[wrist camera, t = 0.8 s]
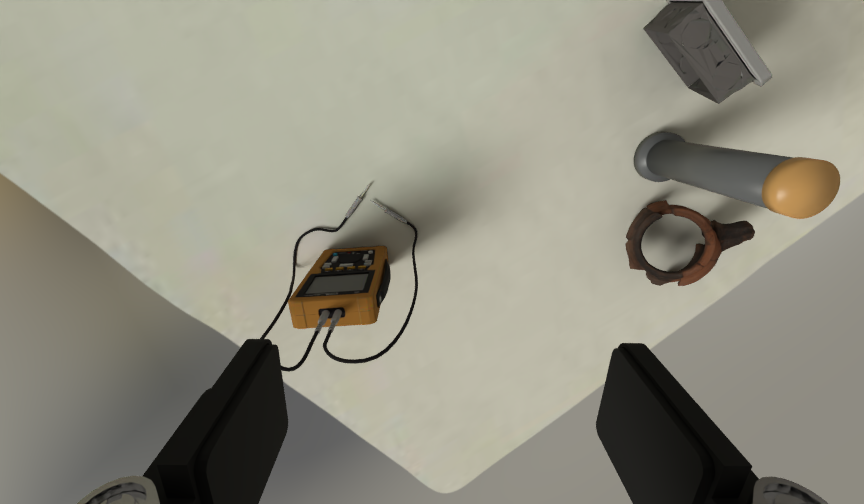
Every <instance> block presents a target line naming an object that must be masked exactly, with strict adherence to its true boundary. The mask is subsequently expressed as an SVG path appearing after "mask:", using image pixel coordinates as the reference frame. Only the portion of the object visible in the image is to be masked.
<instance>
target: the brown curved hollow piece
mask: <svg viewBox="0 0 864 504" xmlns="http://www.w3.org/2000/svg"><path fill="white" fill-rule="evenodd" d="M664 214H674V215H675V216H681V217H685V218H688V219H690V220H692V221H693V222H695V223H696V224H697V225H698V226H699V227H700V228H701V230H702V235H703V237H704V238H705V245H703V244H696V249H695V253H694V256H693V258H692V260H691V261H690V262H689V264H688V265H687V266H686V267H684V268H683V269H681V270H679V271H677V272H667V271H662V270H659V269H657V268H655V267H653V266H652V265H650V264H649V263H648V262H647V261H646V259H645V257H644V256H643V253H642V249H641V242H642V237H643V235H644V233H645V231H646V229H647V228H648V227H649V226H650V225H651V224H652V223H653V222H655V221H656V220H658V219H660V218H662V215H664ZM754 234H755V231H754V229H753V226H752V225H751V224H750V223H749V222H747V221H739V222H735V223H730V224H721V223H719V222H717V221H715V220H713V221H711V222H710V220H708V219H707V218H706V217H704V216H703V215H701V214H700V213H698V212H696V211H694V210H692V209H689V208H687V207H684V206H679V205H669V204H668V203H667V201H666V200H665V201H658V202H655V203H651V204H649V205H648V206H647V208H644V209H642V210H641V211H640V213H639V214H638V215H637V216H636V218H635V219H634V221H633V222H632V224H631V226H630V227H629V230H628V232H627V235H626V238H627V239H628V241H627V242H626V250H627V254H628V257H629V266H630V269H637V270H645V271H646V276H647V278H648V279H649V280H651V283H652V284H655V285H659V286H661V285H663V284H665V283H669V282H676V281H679V282H678V286H685V285H688V284H691V283H694V282H696V281H698V280H699V279H701V278H702V277H704V276H705V275H706V274H707V273H708V272H710V271H711V269H712V268H713V267H714V266H715V264H716V262H717V260H718V258H719V256H720V254H721V252H722V251H724V250H726V249H728V248H730V247H733V246H736V245H739V244H741V243H742V242H744V241H747V240H751V239H752V238H753V236H754Z"/></svg>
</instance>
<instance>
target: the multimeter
mask: <svg viewBox="0 0 864 504" xmlns="http://www.w3.org/2000/svg"><path fill="white" fill-rule="evenodd" d="M369 186H370V184H369V185H368V186H367V187H366V188H365V190H364V191H363V193H362V194H361V196H358V197H357V199H356V201H355V202H354V203H353V205H352V206H351V208H350V209H349V211H348V212H347V214H346V217H345V219H344V220H343V222H342V223H341V225H340V226H339V227H338V228H337V229H336V230H328V229H323V228H316V229H312V230H309V231H308V232H306V233H304V234H303V235H301V236H300V237H299V239H298V240H297V242H296V245H295V249H294V256H293V276H292V282H291V285H290V290H289V293H288V295H287V298H286V300H285V302H284V303H283V305H282V307H281V309H280V311H279V312H278V314H277V316H276V317H275V319H274V320H273V322H272V323H271V325H270V326H269V327H268V329H267V330H266V331H265V333H264V334H263V335H262V337H261V338H260V339H264V338H265V337H266V335H267V334H268V333H269V331H270V330H271V329H272V327H273V326H274V324H275V323H276V321H277V320H278V318H279V316H280V315H281V313H282V312H283V310H284V308H285V306H286V304H287V302H288V304H289V309H290V313H291V318H292V323H293V327H294V328H297V329H307V328H316V329H315V333H314V335H313V337H312V339H311V341H310V343H309V345H308V348H307V350H306V352H305V354H304V356H303V358H302V359H301V361H300V362H299V363H298V364H297V365H295V366H294V367H290V368H287V367H283V366H281V370H282V371H294V370H296V369H297V368H299V367H300V366H301V365H302V364H303V363H304V361H305V360H306V358H307V356H308V354H309V352H310V350H311V347H312V345H313V343H314V341H315V339H316V337H317V335H318V334H319V332H320V330H321V328H322V327H329V329H328V334H327V336H326V338H325V341H324V343H323V348H324V351H325V352H326V354H327V355H328V356H329V357H330V358H332V359H334V360H336V361H339V362H343V363H365V362H368V361H371V360H374V359H377V358H379V357H380V356H382V355H383V354H385V353H386V352H387V351H388V350H389V349H390V348H391V347H392V346H393V345H394V344H395V343H396V342H397V340H398V339H399V338H400V336H401V335H402V333H403V331H404V330H405V328H406V326H407V324H408V322H409V319H410V317H411V314H412V311H413V308H414V305H415V301H416V296H417V289H418V278H417V270H416V263H415V254H414V250H415V244H416V240H417V230H416V228H415V227H414V226H413V225H412V224H410V223H409V222H407V220H405V219H404V218H403V217H401V216H399V215H398V214H396V213H394V212H393V211H391V210H389V209H388V208H386V209H385V208H384V207H382V206H380V205H379V204H377V203H375V202H374V201H371V200H370V201H371V202H372V203H374V204H375V205H377V206H379V207H380V208H382V209H384V210H385V213H388V214H390V215H391V216H393V217H395V218H396V219H398V220H399V221H401V222H403V223H406V224H408V225H410V226H411V227H412V228H413V229H414V230H415V240H414V244H413V249H412V258H413V266H414V274H415V292H414V298H413V302H412V305H411V308H410V311H409V314H408V316H407V319H406V321H405V323H404V325H403V327H402V328H401V330H400V332H399V333H398V335H397V336H396V337H395V339H394V340H393V341H392V342H391V343H390V344H389V345H388V346H387V347H386V348H385V349H384V350H383V351H381V352H380V353H378V354H377V355H375V356H371V357H368V358H365V359H357V360H348V359H342V358H339V357H336V356H334V355H333V354H331V353H330V352H329V351H328V349H327V346H326V345H327V342H328V340H329V337H330V335H331V333H332V332H333V330H334V328H335V326H347V325H367V324H373V323H375V322H376V321H377V318H378V313H379V309H380V305H381V303H382V301H383V300H384V298H385V296H386V293H387V291H388V287H389V283H390V266H389V263H388V255H387V248H386V247H385V246H376V247H362V248H347V249H328V250H324V251H323V253H322V254H321V256H320V257H319V259H318V260H317V261H316V263H315V264H314V265H313V267H312V268H311V269H310V271H309V272H308V273H307V275H306V276H305V278H304V279H303V281H302V282H301V283H300V285H299V286H298V288H297V289H296V290H295V292H294V293H293V295H292V296H291V293H292V289H293V284H294V279H295V263H296V250H297V246H298V243H299V241H300V240H301V238H302V237H303V236H305V235H306V234H308V233H310V232H313V231H317V230H321V231H327V232H336V231H338V230H339V229H340V228H341V227H342V225H343V224H344V223H345V221H346V220H347V218H349V216H350V215H351V214H352V213H353V211H354V210H355V208H356V207H357V206H358V204H359V203H360V201H361V200H362V198H361V197H362V196H363V195H364V193H365V192H366V190H367V189H368V187H369ZM290 296H291V298H290ZM289 298H290V299H289Z"/></svg>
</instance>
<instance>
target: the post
mask: <svg viewBox="0 0 864 504" xmlns="http://www.w3.org/2000/svg"><path fill="white" fill-rule="evenodd" d="M634 166H635V169H636V171H637V172H638V174H639V175H640V176H642V177H643V178H645V179H648V180H651V181H655V182H663V181H667V180H670V179H672V180H675V181H678V182H682V183H685V184H688V185H692V186H695V187H698V188H702V189H705V190H708V191H711V192H715V193H718V194H721V195H725V196H728V197H731V198H735V199H738V200H741V201H745V202H748V203H751V204H754V205H758V206H761V207H764V208H768V209H769V210H771V211H773V212H776V213H779V214H782V215H785V216H789V217H792V218H796V219H803V218H808V217H812V216H814V215H816V214H818V213H820V212H821V211H823V210H824V209H825V208H826V207H827V206H828V205H829V204H830V203H831V202H832V201H833V199H834V198H835V196H836V194H837V192H838V190H839V186H840V175H839V172H838V170H837V168H836V167H835V166H834V165H833V164H832V163H830V162H828V161H824V160H818V159H811V158H803V157H795V158H792V157H785V156H778V155H771V154H764V153H757V152H750V151H743V150H736V149H729V148H722V147H715V146H708V145H701V144H694V143H687V142H685V140H684V139H683V138H682V137H681V136H679V135H677V134H675V133H668V132H657V133H654V134H651V135H649V136H648V137H646V138H645V139H644V140H643V141H642V142H641V143H640V144H639V146H638V147H637V149H636V151H635V155H634Z"/></svg>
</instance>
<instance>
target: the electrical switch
mask: <svg viewBox="0 0 864 504" xmlns="http://www.w3.org/2000/svg"><path fill="white" fill-rule="evenodd" d="M667 2H668V3H669V5H667V6H666V7H665V8H664V9H663V10H662V11H660V12H659V13H658V15H657V16H656V17H655V18H654V19H653V20H652V21H651V22H650V23H649V24H647V25H646V26H645V27H644V28H643V29H644V30H645V31H646V33H647V34H648V35H649V37H650V38H651V39H652V41H653V42H654V43H655V44H656V46H657V47H658V48H659V50H660V51H661V52H662V54H663V55H664V56H665V58H666V59H667V60H668V62H669V63H670V64H671V66H672V67H673V68H674V70H675V71H676V72H677V74H678V75H679V76H680V78H681V79H682V80H683V82H684V83H685V84H686V86H687V87H688V86H689V87H688V88H689V89H691V90H693V91H695V92H697V93H699V94H701V95H703V96H705V97H707V98H708V99H710V100H712V101H714V102H716V103H718V104H719V103H720V102H722V101H723V100H725V99H726V98H727V97H729V96H730V95H731V94H733V93H734V92H736V91H738V90H740V89H742V88H743V87H745V86H746V85H747V84H749V83H751V82H754V83H755V84H757V85H759V86H762V85H764V84H765V83H766V82H767V81H769V80H770V79H771V78H772V74H771V72H770V71H769V69H768V68H767V66H766V65H765V63H764V62H763V60H762V59H761V57H760V56H759V54H758V53H757V51H756V50H755V48H754V47H753V46H752V44H751V43H750V41H749V40H748V38H747V37H746V35H745V34H744V32H743V31H742V29H741V28H740V26H739V25H738V23H737V22H736V20H735V19H734V17H733V16H732V14H731V13H730V11H729V10H728V9H727V7H726V6H725V4H724V3H723V1H722V0H667ZM660 42H661V43H660ZM670 42H671V43H670ZM682 42H683V45H684V46H683V45H682ZM682 55H683V57H682ZM681 57H682V58H681ZM679 62H680V65H679ZM696 80H697V81H696ZM692 83H693V84H692ZM691 84H692V85H691ZM690 85H691V86H690Z"/></svg>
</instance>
